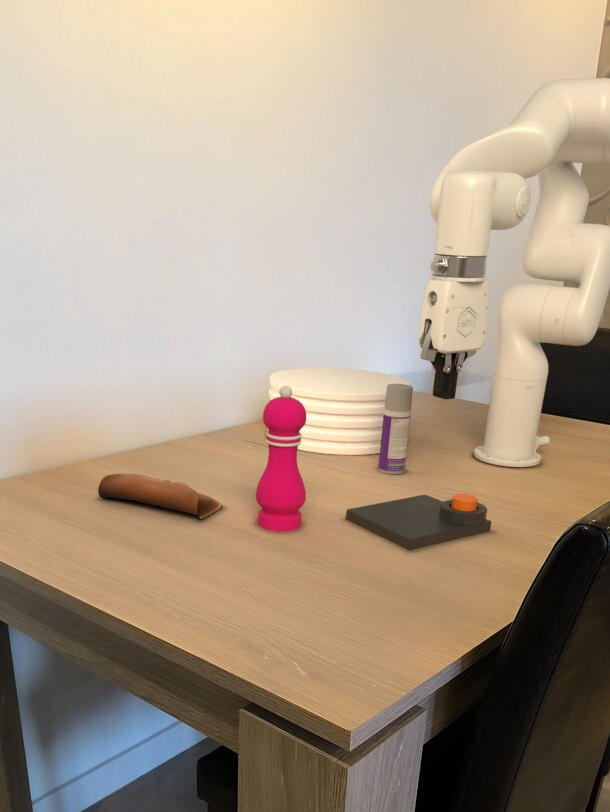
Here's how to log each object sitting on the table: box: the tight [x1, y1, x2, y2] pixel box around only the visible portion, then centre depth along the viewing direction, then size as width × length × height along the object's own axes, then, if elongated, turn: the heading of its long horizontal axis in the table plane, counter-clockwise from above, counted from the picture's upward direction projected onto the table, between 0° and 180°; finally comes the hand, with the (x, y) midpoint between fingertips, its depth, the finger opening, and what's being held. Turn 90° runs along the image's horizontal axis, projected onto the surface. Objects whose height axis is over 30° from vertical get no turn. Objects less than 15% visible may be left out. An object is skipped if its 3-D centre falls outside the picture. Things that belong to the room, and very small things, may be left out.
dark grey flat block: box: [345, 494, 492, 551], centre depth 122 cm, size 16×14×4 cm
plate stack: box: [267, 367, 411, 456], centre depth 167 cm, size 28×28×12 cm
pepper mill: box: [255, 386, 307, 532], centre depth 116 cm, size 7×7×20 cm
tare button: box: [451, 493, 479, 511], centre depth 121 cm, size 4×4×2 cm
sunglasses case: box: [97, 473, 223, 520], centre depth 126 cm, size 18×7×7 cm, turn 64°
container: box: [377, 384, 414, 475], centre depth 145 cm, size 5×5×15 cm
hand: (443, 397), depth 126 cm, fingers closed
